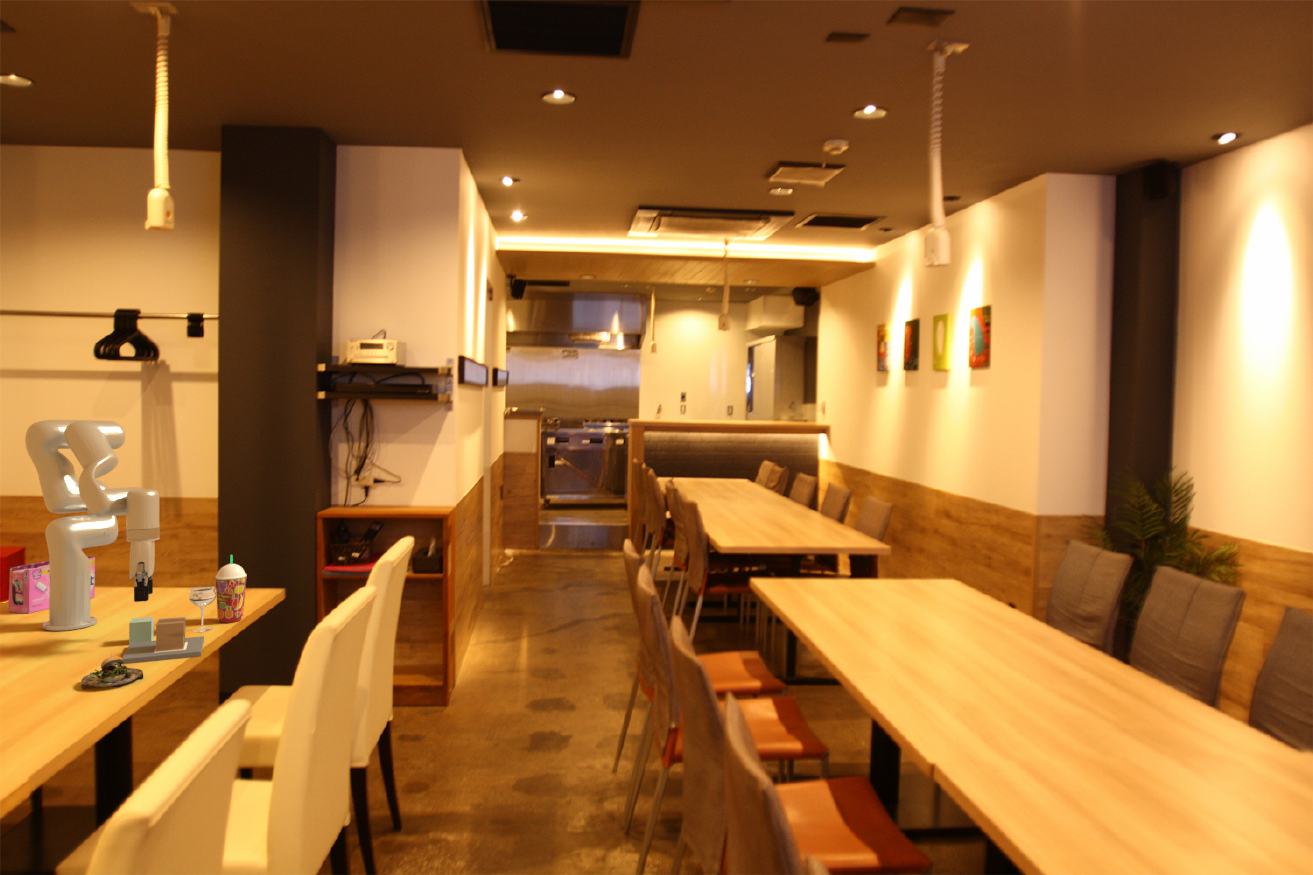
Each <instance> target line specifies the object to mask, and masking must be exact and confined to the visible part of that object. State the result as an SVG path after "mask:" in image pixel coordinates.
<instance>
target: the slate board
mask: <svg viewBox="0 0 1313 875" xmlns="http://www.w3.org/2000/svg"><path fill="white" fill-rule="evenodd" d="M204 642H205V636H193V637H191V636H190V637H185V645H184V648H183V649H179V650H169V651H158V652H156V640H152V641H146V642H135V643H130V644H129V643H128V646H127V648H126V650H125V651H124V654H123V656H122V657H121V658H122V659H123V664H122V665H124V664H125V665H126V664H134V663H135V664H136V663H146V662H155V661H156V662H157V661H165V660H174V659H184V658H185V659H188V658H195V657H201V656H202V651H203V647H204Z"/></svg>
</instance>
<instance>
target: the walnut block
mask: <svg viewBox="0 0 1313 875" xmlns="http://www.w3.org/2000/svg"><path fill="white" fill-rule="evenodd" d="M155 634H156V635H155V639H156V640H155V641H156V652H158V651H169V650H179V649H183V648H184V645H185V638H186V616H180V617H178V616H177V617H165V618H158V620H157V622H156V633H155Z"/></svg>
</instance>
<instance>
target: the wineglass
mask: <svg viewBox="0 0 1313 875" xmlns="http://www.w3.org/2000/svg"><path fill="white" fill-rule="evenodd" d="M188 590H189V592H190V593H189V595H188V598H189V602H190V603H191V604H193V605H194V606H195V607H196V606H197V607H198V608H199V609H200V619H201V621H200V624H201V625H200V627H197V628H194V629H192V630H191V631H192V632H194V633H204V632H209V631H211V630H213V628H212V627H208V626H207V627H206V626H204V615H205V608H207V606H209V605H211V604H212V603H213V602H214V601H215V600H216V599H217V594H216V591H215V590H216V586H214V585H213V586H212V585H202V586H201V585H200V586H195V587H191V588H189V589H188Z"/></svg>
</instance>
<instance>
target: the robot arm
mask: <svg viewBox="0 0 1313 875" xmlns="http://www.w3.org/2000/svg"><path fill="white" fill-rule="evenodd" d="M24 438H25V440H24V441H25V448H26V451H27V454H28V456H29V458H30V460H31V462H32V463H33V465H34V467H35V469H36V472H37V476H38V480H39V484H40V489H41V492H42V497H43V501H44V505H45V508H47V509H46V510H47V511H48V512H50V513H52V514H59V515H60V514H74V513H84V512H86V513H87V514H85V515H83V514H82V515H71V516H64V517H60V518H56V519H54V520H51V522H49V523H48V524H47V526H46V528H45V540H46V545H47V550H48V555H49V556H48V557H49V560H48V561H50V598H49V609H48V610H49V611H48V614H49V616H48V620H47V621H45V622H43V623H42V626H41V627H42V628H41V629H43V630H45V631H51V632H53V631H54V632H56V631H57V632H58V631H61V632H62V631H63V632H64V631H70V630H71V631H72V630H78V629H84V628H88V627H92V626H94V625H95V624H96V623H97V621H98V620H97V617H95V616H92V615H91V599H92V598H91V564H90V560H89V559H88V557H89V556H87V554H85V553H84V551H83V549H87V548H93V547H99V546H101V547H102V546H107V545H110V544H113V543H114V542H115V541H116V540H117V538H118V536H119V523H118V519H117V516H126V517H125V518H126V519H125V520H126V522H125V523H126V524H125V525H126V528H125V529H126V542H128V543H130V547H129V548H130V549H129V572H128V573H129V575H128V576H129V577H128V578H129V579H131V580H132V579H134V586H133V602H135V603H139V602H148V601H149V597H150V596H149V595H152V594H153V592H154V590H153V589H154V583H153V581H154V580H153V574H154V572H155V563H156V561H155V556H156V553H155V552H156V550H155V549H156V545H155V544H156V543H155V541H158V540H160V538H161V537H160V534H161V531H160V530H161V528H160V493H159V491H158V490H156V489H151V488H146V489H145V488H142V487H139V486H137V487H136V486H134V487H132V486H131V487H116V488H115V487H114V488H109V487H108V486H107V485H106V484H105V483H104V482H103V481H101V480H99V479H100V478H101V477H103V476H105V475H107V474H109V473H111V472H112V471H114V469H116V468H117V466H118V465H119V457H118V455H117V454H116V452H115V450H117V449H120V448H121V447H123V445H124V444H125V441H126V434H125V431H124V429H123V426H121V425H120V423H117V422H116V421H114V420H94V419H93V420H91V419H47V420H44V419H43V420H39V421H36V422H33V423H32V424H31V425H30V426H28V427H27V430H26V433H25V437H24ZM59 449H60V450H61V449H62V450H63V449H64V450H68V449H70V451H71V452H72V453H73V455H74V456H75V458H76V459H77V461H78V463H79V464H80V466H81V467H82V469H83V470H82V472H81V473H80V476H79V477H78V478H77V475H76V471H75V467H74V464H73V463H72V461H71V460H70V459H69V458H68V457H67V456H66V455H64V454H63V453H61V451H59Z"/></svg>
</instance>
